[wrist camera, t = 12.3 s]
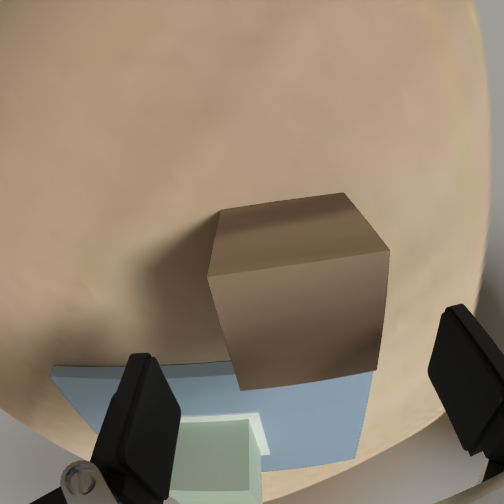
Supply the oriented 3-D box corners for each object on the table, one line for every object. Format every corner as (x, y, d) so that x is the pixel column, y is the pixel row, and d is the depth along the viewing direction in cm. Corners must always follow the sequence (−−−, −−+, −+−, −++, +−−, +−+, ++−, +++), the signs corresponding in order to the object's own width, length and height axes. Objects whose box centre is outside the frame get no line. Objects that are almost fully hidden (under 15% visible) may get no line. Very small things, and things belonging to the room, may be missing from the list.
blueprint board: (54, 365, 18) (48, 377, 17) (370, 340, 16) (376, 354, 15) (134, 461, 24) (132, 470, 23) (352, 449, 23) (354, 459, 22)
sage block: (172, 422, 18) (162, 488, 14) (248, 418, 18) (249, 490, 14) (195, 454, 21) (189, 511, 16) (260, 451, 20) (262, 510, 16)
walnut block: (220, 209, 13) (206, 276, 9) (343, 191, 13) (389, 250, 8) (242, 307, 15) (240, 390, 11) (345, 292, 15) (376, 370, 11)
